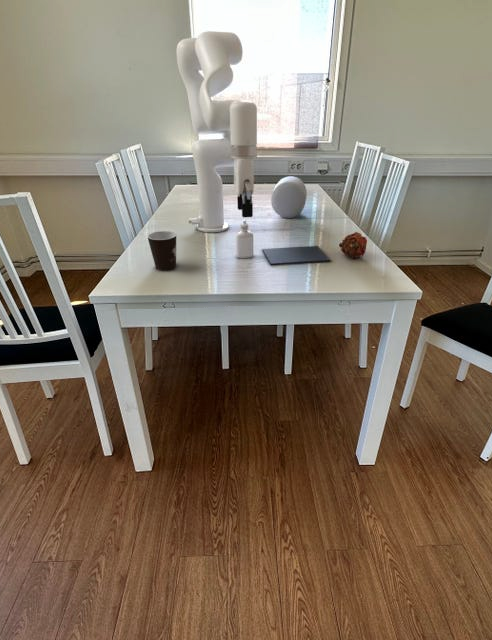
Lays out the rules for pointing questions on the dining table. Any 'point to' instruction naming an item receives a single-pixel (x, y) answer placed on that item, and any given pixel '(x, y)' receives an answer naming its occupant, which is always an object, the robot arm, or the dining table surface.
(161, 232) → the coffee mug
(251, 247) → the eye dropper bottle
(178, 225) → the dining table surface
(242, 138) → the robot arm
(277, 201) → the grey egg shape
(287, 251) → the mat
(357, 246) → the dragon fruit
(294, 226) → the dining table surface
